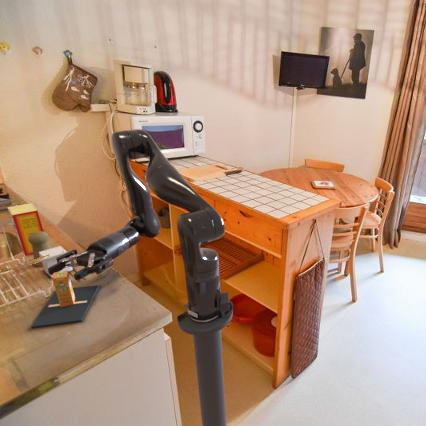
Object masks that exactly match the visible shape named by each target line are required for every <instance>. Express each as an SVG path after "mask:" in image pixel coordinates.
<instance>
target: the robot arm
mask: <svg viewBox="0 0 426 426" xmlns="http://www.w3.org/2000/svg"><path fill="white" fill-rule="evenodd" d="M110 137H111V138H110V140H111V141H110V142H111V147H112V151H113V154H114V158H115V160H116V163H117V166H118V169H119V172H120V175H121V178H122V180H123V183H124V186H125V189H126V193H127V197H128V203H129V208H130V211H131V213H132V214H133V215H134V217H132V218H130V220H128V221H127V222H126V224H125V225H124V226H123V227H121V228H120V229H118V230H116V231H114V232H112V233H109V234H107V235H105V236H103V237H101V238H99V239H98V240H95V241H93V242H92V243H90V244H89V245H88V246H87V248H86V250H84V251H81V252H79V251H77V250H78V249H72V250H70V251H67V252H68V253H66V254H64V255H62V256H60V257H58V258H56V260H57V264H55V265H53V266H51V267H49V268H48V272H49V274H50V275H53V273H55V272H59V271H61V270H62V269H64V268H67V267H72V268H76V267H83V268H81V269H80V270H78V271H76V272H75V273H74V274H73V277H74V280H75V281H81V280H83V279H84V278H86V277H87V276H89V275H93V274H95V273H96V274H97V275H100V274H102V273H103V272H105V271H106V270H107V269H109V268H110V267H112V266H113V265H114V260H115V259H116V258H118V257H120V256H122V254H124V253H125V252H126V251H128V250H129V249H131V248H132V247H134V246H135V245H137V244H138V243H139V242H140V240H141V237H144V238H147V239H148V238H149V239H155V238H156V237H158V236H159V235H160V234H161V233H160V232H161V229H162V224H161V220H160V218H159V216H158V214H157V212H156V209H155V208H154V206H153V205H154V204H153V199H152V194H151V193H152V192H153V194H154V195H155V196H156V197H157V198H158V199H160V200H161V201H162V202H165V203H167V204H169V205H172V206H174V207H177V208H180V209H182V210H184V211H186V213H182V214H180V215H179V216H178V218H177V222H176V228H177V234H178V235H177V236H178V240H179V247H180V253H181V257H182V261H183V268H184V278H185V287H186V288H185V289H186V296H187V297H186V298H187V303H188V307H189V310H188V309H187V311H188V314H189V318H190V319H191V320H192V321H193V322H196V323H208V322H211V321H214V320H215V319H217V318H219V317H222V312H224V311H226V312H225V313H224V314H225V315H227V314H228V313H229V312H230V311H231V310H232V309H233V308H234V304H233V302H232V300H230V295H229V292H221V291H222V290H221V274H220V257H219V253H218V252H217V251H216V250H214V249H212V248H208V247H201V246H203V245H206V244H209V243H211V242H214V241H215V242H216V241H218V240H219V239H221V238H223V236H224V235H225V233H226V225H225V222H224V220H223V218H222V216H221V214H220V213H219V212H218V211H217V209H215V208H214V206H212V205H211V204H210V202H208V201H207V199H204V198H203V196H201V195H200V193H198V192H197V191H196V190H195V189H194V188H193V187H192V185H190V184H189V182H188V181H187V180H186V179H185V177H184V176H183V175H182V174H181V173H180V171H179V170H178V169H177V168H176V167H175V166H174V165H173V164H172V163H171V161H170V160H169V159H168V158H167V157H166V155H164V153H163V152H162V151H161V149H160V147H159V146H158V145H157V143H156V142H155V140H154V138H152V136H151V135H150V133H149V132H147V131H146V130H144V129H141V128H138V129H137V128H135V129H127V130H118V131H114V132H113V133H112V134H111V136H110ZM139 159H147V160H148V163H147V166H146V169H145V174H144V178H145V181H143V180H142V178H140V177H139V176H138V175H137V173H136V172H134V170H133V169H132V166H131V163H130V161H133V160H139ZM145 182H146V183H145ZM151 191H152V192H151ZM63 258H65V259H63ZM74 260H75V261H76V262H75V261H74ZM68 262H71V263H70V264H66V263H68ZM229 305H230V307H229ZM233 310H234V309H233Z"/></svg>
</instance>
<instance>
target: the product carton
mask: <svg viewBox="0 0 426 426" xmlns="http://www.w3.org/2000/svg"><path fill="white" fill-rule="evenodd" d="M68 252H69V251H67V250H66V249H65V248H64V247H62V246H61V245H58V246H55V247H51V249H48V250H45V251H41V252H39V255H40V257H43V256H46V255H48V254H49V257H48V258H46V259H45V260H42V264H43V266H42V267H43V271H44V272H45V273H46V274H47V275H48V276H49V277H50V278H52V279H53V275H50V274H49V272H48V268H49V267H51V266H53V265H55V264H57V260H56V258H58V257H60V256H62V255H64V254H66V253H68ZM63 259H65V258H63ZM70 263H71V262H68V263H66V264H70ZM63 271H68V273H69V272H72V271H73V267H67V268H64V269H62V270H61V271H59V272H63Z"/></svg>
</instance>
